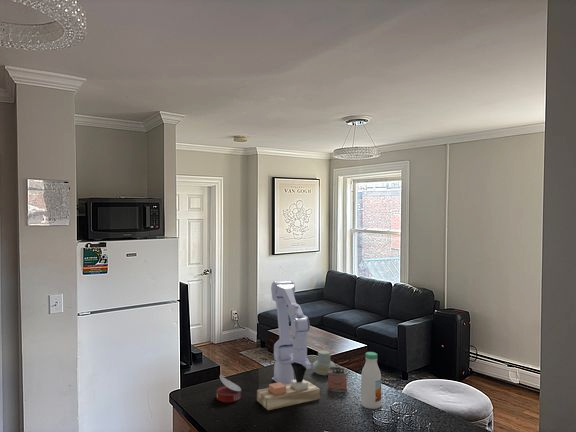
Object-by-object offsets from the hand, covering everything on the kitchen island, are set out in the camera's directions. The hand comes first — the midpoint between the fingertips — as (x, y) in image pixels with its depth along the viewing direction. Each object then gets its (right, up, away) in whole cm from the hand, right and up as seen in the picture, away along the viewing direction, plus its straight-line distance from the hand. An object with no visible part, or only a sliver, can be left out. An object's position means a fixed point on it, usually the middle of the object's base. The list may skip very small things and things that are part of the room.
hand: (299, 381), depth 170 cm
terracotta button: (-9, -3, -5) cm, 10 cm away
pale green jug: (+12, -7, +27) cm, 31 cm away
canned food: (-28, -6, -1) cm, 29 cm away
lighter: (+16, -7, +8) cm, 19 cm away
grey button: (0, -3, 0) cm, 3 cm away
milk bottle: (+27, -7, -6) cm, 29 cm away
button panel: (-4, -6, -2) cm, 8 cm away
